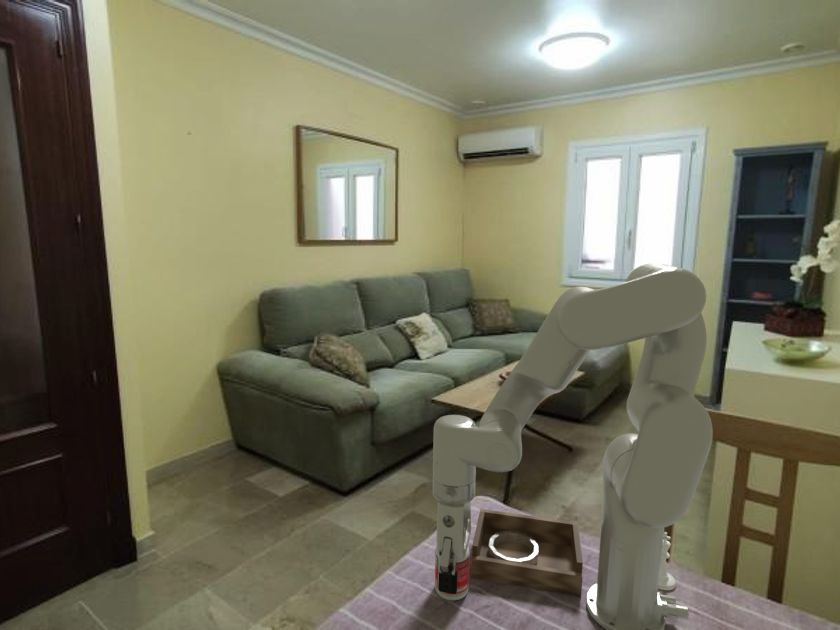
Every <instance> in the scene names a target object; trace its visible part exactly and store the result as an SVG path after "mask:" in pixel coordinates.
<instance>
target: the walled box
mask: <svg viewBox="0 0 840 630" xmlns="http://www.w3.org/2000/svg"><path fill="white" fill-rule="evenodd" d="M578 525H579V524H578V522H576V521H570V520H569V521H568V520H563V519H555V518H549V517H541V516H540V517H539V516H533V515H528V514H527V515H526V514H518V513H513V512H512V513H510V512H505V511H498V510H491V509H483V508H480V510H479V513H478V519H477V522H476V528H475V533H474V536H473V541H472V547H471V551H472V552H471V559H470V560H471V561H470V562H471V563H470V564H471V565H470V578H471V579H475V580H476V579H477V580H483V581H488V582H493V583H494V582H495V583H498V584H499V583H501V584H504V585H505V584H506V585H511V586H512V585H513V586H518V587H523V588H529V589H534V590H540V591H546V592H553V593H557V594H558V593H559V594H563V595H564V594H565V595H569V596H576V597H580V598H581V597H582V589H583V578H584V577H583V568H584V567H583V565H584V563H583V561H584V560H583V555H582V547H581V541H580V531H579V526H578ZM503 531H515V532H521V533H523V534H525V535H527V536H529V537H531V538H533V540H534V541H535V542H536V543H537V544H538V563H537V564H536V565H530V564H523V563H517V562H511V561H505V560H499V559H493V558H490V556H489V542H490V538H491V537H492V536H493V535H495V534H496V533H498V532H503ZM494 548H495V549H496V550H497V552H498V553H500V554H502V555H504V556H506V557H509V558H515V559H520V558H526V557H529V556H530V555H531V554H532V552H531V550H530V549H529V548H528V547H526V546H524V545H522V544H520V543H515V542H504V543H499V544H498V545H497V546H496V547H494Z"/></svg>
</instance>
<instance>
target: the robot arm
mask: <svg viewBox="0 0 840 630" xmlns="http://www.w3.org/2000/svg"><path fill="white" fill-rule="evenodd" d="M706 300H707V291H706V288H705V285H704V283H703V282H702V281H701V279H700V278H699V277H698V276H697V275H696V274H695V273H693V272H692V271H690V270H688V269H686V268H683V267H679V266H678V267H677V266H672V265H668V264H663V263H658V262H657V263H654V262H653V263H652V262H651V263H645V264H643V265H639V266H637V267H636V268H634V269H633V270H632V271H631V272H630V273H629V275H628V276H627V278H626V281H625V282H621V283H618V284H614V285H611V286H608V287H607V286H606V287H603V288H598V289H594V288H590V287H587V286H575V287H571V288H569V289H567V290H565V291H564V292H563V293H562V294H561V295H560V296H559V297H558V299H557V300H556V302H555V303H553V307H552V308H551V310H550V311H549V312H548V314H547V316H546V318H545V319H544V320H543V322H542V324H541V325H540V327H539V329H538V330H537V332H536V334H535V335H534V337H533V338H532V340H531V342H530V344H528V347H527V348H526V350H525V352H523V354H522V356H521V358H520V360H518V362H517V364H516V365H515V366H514V367H513V369H512V371H510V373H509V374H508V376H507V377H506V379H504V381H503V382H502V384H501V386H500V387H499V389H498V391H496V394H495V395H494V396H493V397H492V400H491V401H490V403H489V405H488V406H487V408H486V409H485V411H484V413H483V415H482V416H481V419H480V422H479V426H477V425H476V422H475V421H474V420H473V419H472V418H471V417H468V416H466V415H462V414H448V415H447V414H446V415H444V416H440V417H439V418H438V419H436V421H435V422H434V424H433V425H434V426H433V440H432V441H433V443H432V444H433V445H432V446H433V448H432V449H433V451H432V459H433V460H432V496H433V498H435V500H437V512H436V513H437V517H436V546H437V554H438V555H439V556H440V555H441V557H440V566H439V583H438V590H439V591H440V592H445V593H451V594H456V593H457V572H456V563H457V559H460V560H462V559H464V557H465V555H466V551H467V547H469V544H470V543H469V541H470V537H471V532H472V511H471V510H472V507H471V506H472V503H471V502H472V501H473V500H475V497H476V478H477V477H476V474H477V470H476V469H477V468H480V469H483V470H486V471H490V472H494V473H508V472H510V471H513V470H514V469H515V468H517V467H518V466H519V464H520V463H521V460H522V457H523V444H522V430H523V429H524V427H525V425H526V424H527V423H528V421H529V419H530V417H532V414H533V413H534V412H535V410H536V409H537V407H538V406H539V405H540V404H541V403H542V402H543V401H544V400H545V399H546V398H548V397H549V396H552V395H554V394H558V393H560V392H562V391H564V390H565V389H566V388H567V386H568V385H569V383H570V382H571V380H572V379H573V377H574V375H575V374H576V372H577V371H578V370H579V368H580V367H581V366H582V364H583V362H584V360H585V358H586V357H587V356H588V354H589V352H590V351H595V350H596V351H597V350H603V349H607V348H612V347H616V346H620V345H624V344H628V343H631V342H632V343H633V342H635V341H639V340H644V344H643V349H642V353H641V357H640V361H639V362H638V363H639V364H638V367H637V370H636V373H635V375H634V378H633V382H632V385H631V387H630V391H629V394H628V397H627V400H626V412H627V415H628V418H629V421H630V422H631V423H632V425H633V426H634V429H636V431H637V432H638V433H634V432H633V433H632V432H631V433H630V432H629V433H625V434H621V435H618V436H617V437H615V438H614V439H612V441H611V442H610V443H609V444H608V445H607V447H606V450H605V452H604V456H603V461H602V462H603V463H602V483H603V484H602V487H603V491H602V493H603V494H602V499H603V500H602V512H601V513H602V516H601V527H600V538H599V539H600V541H599V554H598V567H597V581H596V583H595V584H593V585H592V586H591V587H590V588H589V589H588V591H587V593H586V598H585V599H586V601H585V602H586V608H587V611H588V613H589V614H590V617H592V619H593V620H594V621H595V623H598V624H599V625H600V626H601V627H602V628H604V629H605V630H665V628H666V621H667V620H666V618H668V616H669V617H670V616H671V617H674V618H678V619H683V620H689V617H690V615H689V608H688V606H687V605H682V604H677V597H676V596H674V595H669V594H662V593H661V592H659V589H658V585H659V575H660V565H661V555H662V545H663V539H664V538H663V537H664V532H665V528H667V527H670V526H672V525H674V524H676V523H677V522H679V521H680V520H681V518H683V516H684V515H685V514H686V512H687V510H688V509H689V507H690V505H691V502H692V501H693V499H694V496H695V493H696V490H697V488H698V485H699V481H700V479H701V476H702V473H703V471H704V468H705V465H706V462H707V459H708V456H709V454H710V450H711V448H712V444H713V437H714V436H713V434H714V433H713V430H714V429H713V424H712V419H711V416H710V414H709V412H708V411H707V409H706V407H705V406H704V405H703V404H702V403H701V402H700V401H699V400H698V399H697V398H696V397H695V394H696V393H695V392H696V388H697V384H698V381H699V377H700V374H701V371H702V366H703V362H704V359H705V355H706V349H707V343H708V342H707V337H708V336H707V328H706V327H707V326H706V323H705V320H704V317H703V313H702V311H703V310H704V308H705V306H706V302H707V301H706ZM451 550H453V551H454V554H450V553H451ZM450 558H453V565H452V566H451V565H449V564H450V563H449V561H450Z"/></svg>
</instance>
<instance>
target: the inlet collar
mask: <svg viewBox="0 0 840 630" xmlns="http://www.w3.org/2000/svg"><path fill="white" fill-rule="evenodd" d="M504 542H515V543H520V544H522V545H524V546H526V547H528V548H529V549H530V550H531V552H532V554H531V555H530V556H529V557H526V558H520V559H515V558H509V557H506V556H504V555H502V554H500V553H498V552H497V550H496V549H495V548H494V547H496V546H497V545H498V544H499V543H504ZM489 556H490V558H493V559H499V560H505V561H511V562H517V563H523V564H530V565H536V564H537V563H538V544H537V543H536V542H535V541H534V540H533V538H531V537H529V536H527V535H525V534H523V533H521V532H515V531H503V532H498V533H496V534H495V535H493V536H492V537H491V538H490V542H489Z"/></svg>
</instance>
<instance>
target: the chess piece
mask: <svg viewBox="0 0 840 630" xmlns="http://www.w3.org/2000/svg"><path fill="white" fill-rule="evenodd" d="M670 541H671V536H668V532H667V531H664V537H663V545H662V555H661V565H660V575H659V585H658V590H663V591H672V590H674V589H675V588H676V579H675V578H674V577H673V575H672V574H671V573H668V572H667V559H670V558H671V555H670V553H669V552H668V551H669V549H670V547H671V545H672V544H671V542H670Z"/></svg>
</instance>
